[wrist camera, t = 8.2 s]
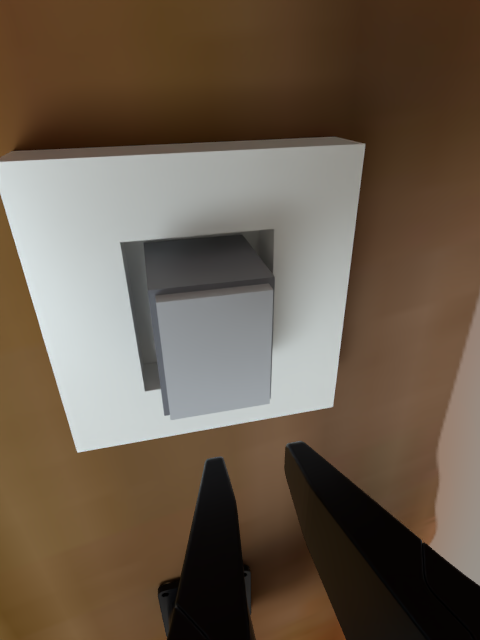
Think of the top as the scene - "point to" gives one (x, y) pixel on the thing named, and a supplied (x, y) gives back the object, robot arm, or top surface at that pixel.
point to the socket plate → (176, 224)
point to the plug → (210, 324)
